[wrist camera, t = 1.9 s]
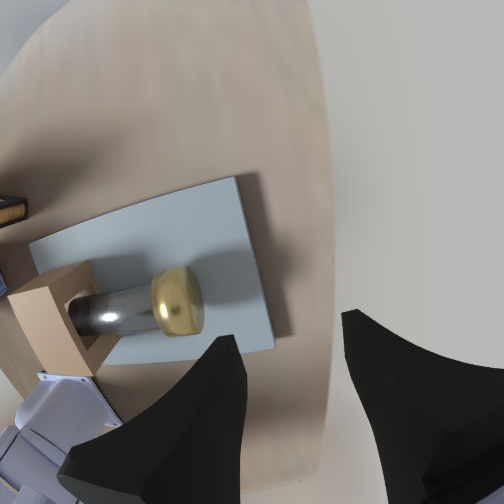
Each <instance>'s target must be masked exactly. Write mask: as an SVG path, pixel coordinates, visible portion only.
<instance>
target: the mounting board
mask: <svg viewBox="0 0 504 504" xmlns="http://www.w3.org/2000/svg"><path fill="white" fill-rule="evenodd" d="M28 245H29V248H30V251H31V254H32V257H33V260H34V263H35V266H36V269H37V271H38V274H39V276H37V277H36V278H34V279H33V280H31V281H29V282H28V283H26V284H25V285H23V286H22V287H20V288H19V289H17V290H16V291H14V292H13V293H11V294H10V295H8V296H7V297H8V299H9V301H10V304H11V306H12V308H13V310H14V313H15V315H16V317H17V319H18V321H19V323H20V325H21V327H22V329H23V331H24V333H25V335H26V337H27V339H28V341H29V343H30V344H31V346H32V348H33V350H34V352H35V353H36V355H37V357H38V359H39V360H40V362H41V364H42V365H43V367H44V369H45V370H46V372H47V373H48V374H57V375H72V376H94V375H95V374H96V372H97V371H98V369H99V368H100V366H101V365H121V364H144V363H160V362H173V361H184V360H194V359H199V358H200V357H201V356H202V355H203V354H204V352H205V351H206V350H207V349H208V347H209V346H210V345H211V344H212V342H213V341H214V340H215V339H216V338H217V337H218V336H224V335H231V334H234V337H235V340H236V343H237V346H238V349H239V352H240V354H242V353H249V352H255V351H261V350H267V349H273V348H276V347H275V336H274V332H273V328H272V324H271V320H270V316H269V311H268V307H267V303H266V299H265V295H264V291H263V287H262V282H261V278H260V274H259V270H258V266H257V262H256V258H255V253H254V249H253V245H252V241H251V237H250V233H249V229H248V225H247V220H246V216H245V212H244V208H243V204H242V200H241V196H240V192H239V188H238V183H237V179H236V176H233V177H229V178H225V179H221V180H217V181H213V182H209V183H205V184H202V185H198V186H194V187H191V188H187V189H183V190H180V191H176V192H173V193H170V194H166V195H163V196H159V197H156V198H153V199H150V200H146V201H143V202H140V203H137V204H134V205H131V206H128V207H125V208H122V209H119V210H116V211H113V212H110V213H107V214H104V215H101V216H98V217H96V218H93V219H90V220H87V221H85V222H82V223H79V224H77V225H74V226H71V227H69V228H66V229H64V230H61V231H58V232H56V233H53V234H51V235H49V236H46V237H44V238H41V239H39V240H37V241H34V242H32V243H30V244H28ZM181 266H188V267H190V268H191V269H192V270H193V272H194V274H195V275H196V278H197V280H198V282H199V285H200V289H201V292H202V297H203V302H204V313H205V319H204V327H203V330H202V332H201V333H200V334H198V335H190V336H183V337H174V338H170V337H168V336H166V335H165V334H164V333H163V332H162V330H161V329H157V330H148V331H140V332H131V333H121V334H111V335H99V336H87V337H81V336H79V335H78V333H77V331H76V329H75V327H74V325H73V323H72V321H71V319H70V317H69V315H68V307H69V304H70V302H71V301H72V300H73V299H74V298H77V297H82V296H87V295H92V294H98V293H103V292H108V291H113V290H119V289H124V288H129V287H134V286H139V285H144V284H149V283H152V281H153V278H154V276H155V274H156V273H157V272H159V271H162V270H167V269H171V268H176V267H181Z"/></svg>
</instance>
